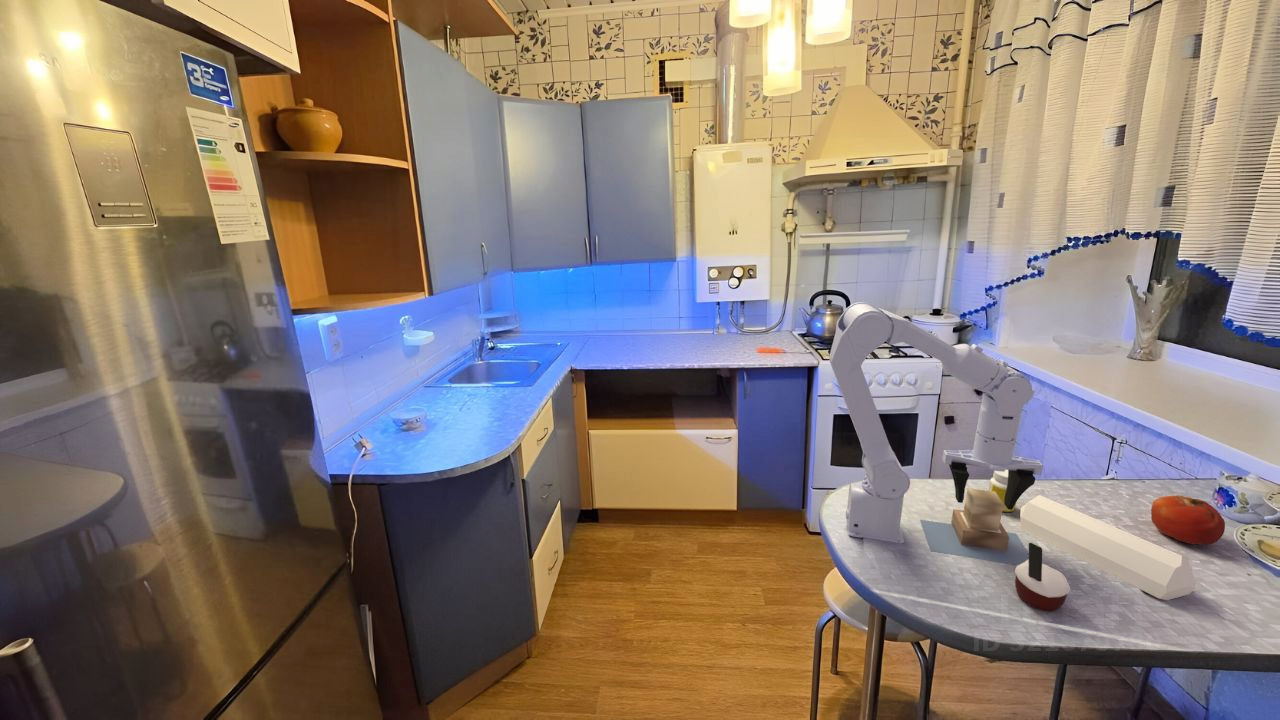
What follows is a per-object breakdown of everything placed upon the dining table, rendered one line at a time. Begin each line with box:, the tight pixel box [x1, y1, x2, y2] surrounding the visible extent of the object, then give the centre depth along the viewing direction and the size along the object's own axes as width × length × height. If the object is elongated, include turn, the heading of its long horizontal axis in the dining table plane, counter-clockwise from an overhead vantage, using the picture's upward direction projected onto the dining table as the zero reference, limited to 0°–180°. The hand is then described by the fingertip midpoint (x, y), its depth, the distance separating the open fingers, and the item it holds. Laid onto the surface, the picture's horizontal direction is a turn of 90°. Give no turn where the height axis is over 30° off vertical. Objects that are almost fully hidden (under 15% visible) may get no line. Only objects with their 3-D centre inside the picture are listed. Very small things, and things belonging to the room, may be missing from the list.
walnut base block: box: [950, 508, 1009, 551], centre depth 91 cm, size 7×7×3 cm
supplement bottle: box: [987, 469, 1017, 516], centre depth 99 cm, size 5×5×8 cm
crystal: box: [1019, 494, 1197, 601], centre depth 86 cm, size 7×7×24 cm
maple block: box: [963, 488, 1004, 532], centre depth 90 cm, size 4×4×6 cm
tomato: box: [1150, 494, 1226, 546], centre depth 90 cm, size 9×9×8 cm
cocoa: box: [1014, 542, 1071, 612], centre depth 75 cm, size 10×6×12 cm, turn 97°
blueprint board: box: [919, 519, 1029, 566], centre depth 90 cm, size 16×10×1 cm, turn 71°
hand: (983, 503), depth 90 cm, fingers open, 7 cm apart
